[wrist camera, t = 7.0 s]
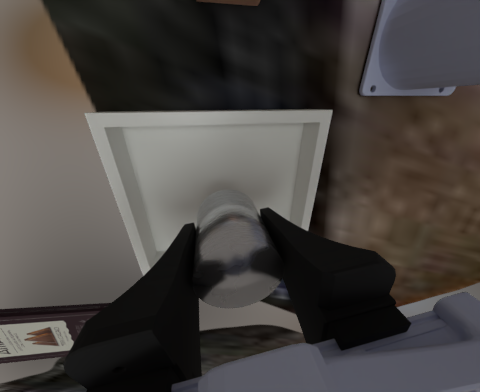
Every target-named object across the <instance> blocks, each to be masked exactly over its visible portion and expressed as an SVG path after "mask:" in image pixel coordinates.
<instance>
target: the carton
mask: <svg viewBox="0 0 480 392" xmlns="http://www.w3.org/2000/svg"><path fill="white" fill-rule="evenodd" d="M196 1H198V2H211V3H224V4H238V5H251V6H258V4H259V2H260V0H196Z"/></svg>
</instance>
